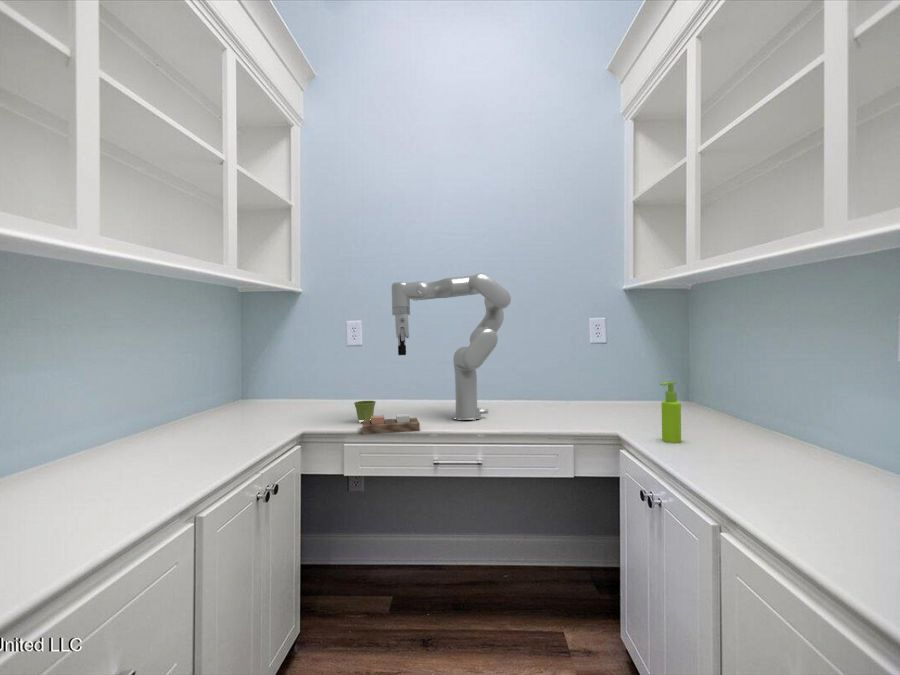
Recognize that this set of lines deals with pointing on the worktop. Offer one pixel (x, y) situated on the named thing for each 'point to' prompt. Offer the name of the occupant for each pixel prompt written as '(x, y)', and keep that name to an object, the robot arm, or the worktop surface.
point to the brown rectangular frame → (390, 426)
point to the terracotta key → (377, 419)
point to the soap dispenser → (671, 415)
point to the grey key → (402, 418)
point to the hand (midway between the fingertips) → (402, 355)
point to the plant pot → (365, 409)
